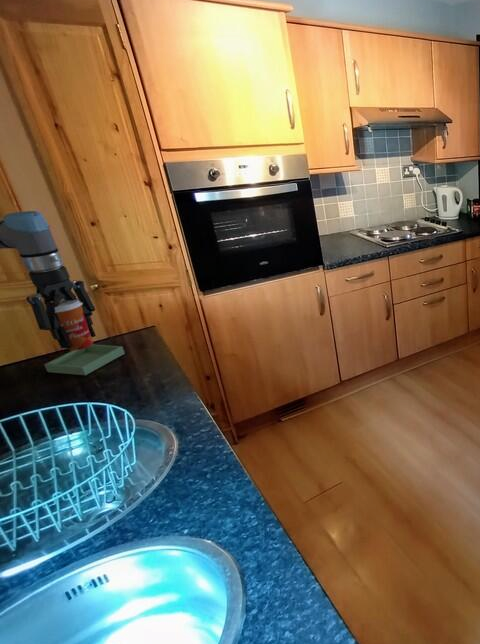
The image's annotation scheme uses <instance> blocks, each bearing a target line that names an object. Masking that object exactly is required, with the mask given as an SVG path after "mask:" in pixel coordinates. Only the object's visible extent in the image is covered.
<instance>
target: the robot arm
mask: <svg viewBox="0 0 480 644" xmlns="http://www.w3.org/2000/svg"><path fill="white" fill-rule="evenodd" d="M1 249H2V250H3V249H17V252H18V254H19V257H20V259H21V260H22V264H23V265H24V268H25V270H26V271H27V272H28V276H29V278H30V280H31V283H32V284H33V285H34V287H35V289H36V292H35V294H33V295H32V296H26V298H25V300H26V301H27V302H28V304H29V305H30V306H31V309H32V312H33V315H34V318H35V321H36V323H37V327H38V329H39V330H41V331H50V334H51V336H52V338H53V339H54V340H56V341H57V342H58V344H59V346H60V348H61V349H68V350H69V349H70V348H72V346H71V344H70V342H69V340H68V337H67V335H66V333H65V331H64V328H63V327H59V317H58V315H57V314H56V313H55V307H58V305H59V304H60V300H64V299H65V300H70V301H73V300H76V299H77V300H79V301H80V302H82V303H83V304H82V305H81V306H82V309H83V312H84V315H85V318H86V321H87V325H88V328H89V331H90V334H91V337H92V338H94V337H96V336H97V334H96V332H95V330H94V328H93V326H92V325H94V321H93V320H92V317H91V316H93V312H95V311H96V307H95V305H94V304H93V301H92V300H91V297H90V296H89V294H88V292H87V290H86V289H85V282H84V281H83V280H71V279H70V274H69V272H68V270H67V267H66V266H65V265H64V264H65V263H64V260H63V258H62V256H61V253H60V250H59V249H58V247H57V244H56V241H55V239H54V236H53V234H52V232H51V229H50V225H49V224H48V222H47V220H46V219H45V216H44V215H43V214H42V213H41V212H39V211H36V210H27V211H26V210H25V211H16V212H10V213H6V214H4V216H3V218H2V219H0V250H1ZM72 289H73V290H72Z"/></svg>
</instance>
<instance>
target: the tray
mask: <svg viewBox="0 0 480 644" xmlns="http://www.w3.org/2000/svg"><path fill="white" fill-rule="evenodd" d="M125 354H126V353H125V350H124V348H123V346H122V345H121V346H120V345H109V344H107V345H106V344H95V343H93V344H92V345H91V346H89V347H87V348H84V349H80V350H70V351H69V352H68V353H65V354H63V355H61V356H58V357H56V358H55V359H52V360H50V361H48V362H46V363H44V364H43V366H44V367H45V369H46V370H45V371H46V372H47V373H56V374H66V375H77V376H87V375H88V374H91V373H92V372H95V371H96V370H98V369H99V368H102V367H103V366H105V365H107V364H108V363H110V362H113V361H114V360H116V359H118V358H119V357H122V356H123V355H125Z"/></svg>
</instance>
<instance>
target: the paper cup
mask: <svg viewBox="0 0 480 644" xmlns="http://www.w3.org/2000/svg"><path fill="white" fill-rule="evenodd" d="M77 299H78V298H77ZM77 299H76V300H73V301H70V300H65V299H62V300H60V304H59V305H58V307H55V313H56V314H57V315H58V317H59V327H63V328H64V331H65V333H66V335H67V337H68V340H69V342H70V344H71V346H72V348H70V349H68V350H69V351H73V350H80V349H84V348H87V347H89V346H91V345H92V344H94V341H93V337H91V334H90V331H89V328H88V325H87V321H86V318H85V315H84V312H83V309H82V306H81V305H82V304H83V303H82V302H80V301H79V299H78V300H77Z"/></svg>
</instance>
